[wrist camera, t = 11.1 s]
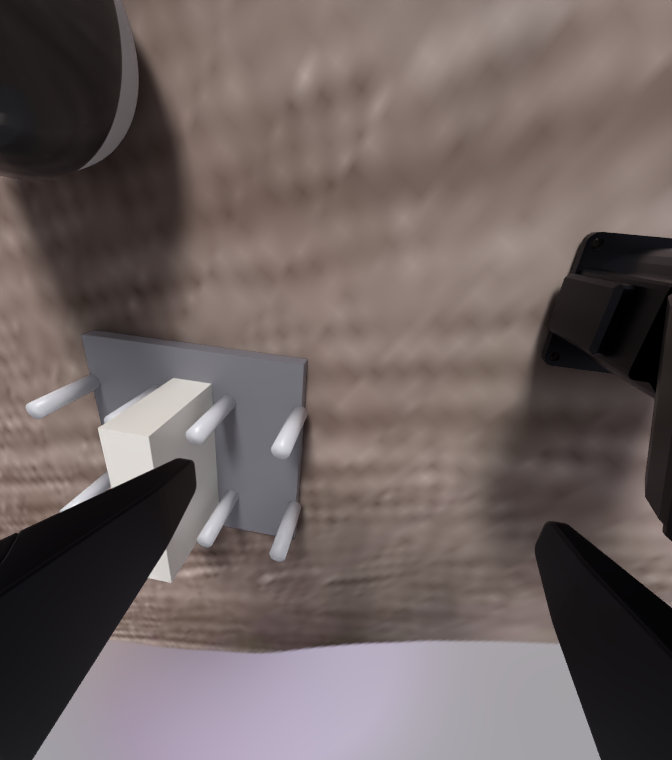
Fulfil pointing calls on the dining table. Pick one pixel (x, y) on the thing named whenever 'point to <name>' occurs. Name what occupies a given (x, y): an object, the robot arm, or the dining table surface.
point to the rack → (211, 421)
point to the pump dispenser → (63, 85)
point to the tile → (166, 456)
